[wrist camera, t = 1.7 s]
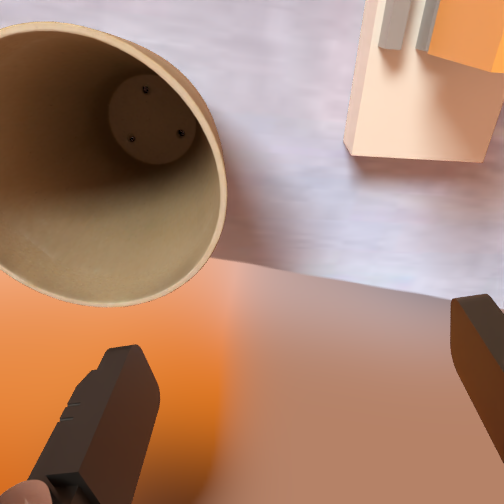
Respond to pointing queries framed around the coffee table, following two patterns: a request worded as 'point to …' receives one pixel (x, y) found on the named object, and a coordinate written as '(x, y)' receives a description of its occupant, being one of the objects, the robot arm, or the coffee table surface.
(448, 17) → the sleeve
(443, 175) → the coffee table surface
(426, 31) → the stand
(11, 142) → the plant pot
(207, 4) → the coffee table surface
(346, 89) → the coffee table surface
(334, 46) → the coffee table surface
